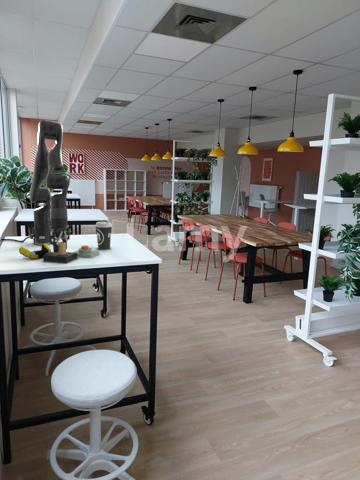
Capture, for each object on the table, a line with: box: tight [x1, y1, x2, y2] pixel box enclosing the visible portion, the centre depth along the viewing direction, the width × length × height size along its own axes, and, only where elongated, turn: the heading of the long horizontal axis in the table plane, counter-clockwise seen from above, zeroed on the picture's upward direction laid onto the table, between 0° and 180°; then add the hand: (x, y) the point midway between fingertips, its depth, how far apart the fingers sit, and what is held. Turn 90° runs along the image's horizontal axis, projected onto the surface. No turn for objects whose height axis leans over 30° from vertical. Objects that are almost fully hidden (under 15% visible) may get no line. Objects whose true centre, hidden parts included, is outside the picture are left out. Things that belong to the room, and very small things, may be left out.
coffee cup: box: [94, 221, 113, 251], centre depth 192 cm, size 10×10×15 cm
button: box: [80, 244, 90, 250], centre depth 175 cm, size 4×4×2 cm
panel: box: [42, 251, 78, 264], centre depth 165 cm, size 12×10×3 cm
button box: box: [72, 247, 100, 259], centre depth 176 cm, size 11×9×4 cm
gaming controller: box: [18, 243, 52, 260], centre depth 170 cm, size 15×6×10 cm
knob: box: [55, 241, 67, 255], centre depth 164 cm, size 5×5×6 cm
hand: (60, 250), depth 164 cm, fingers open, 7 cm apart
